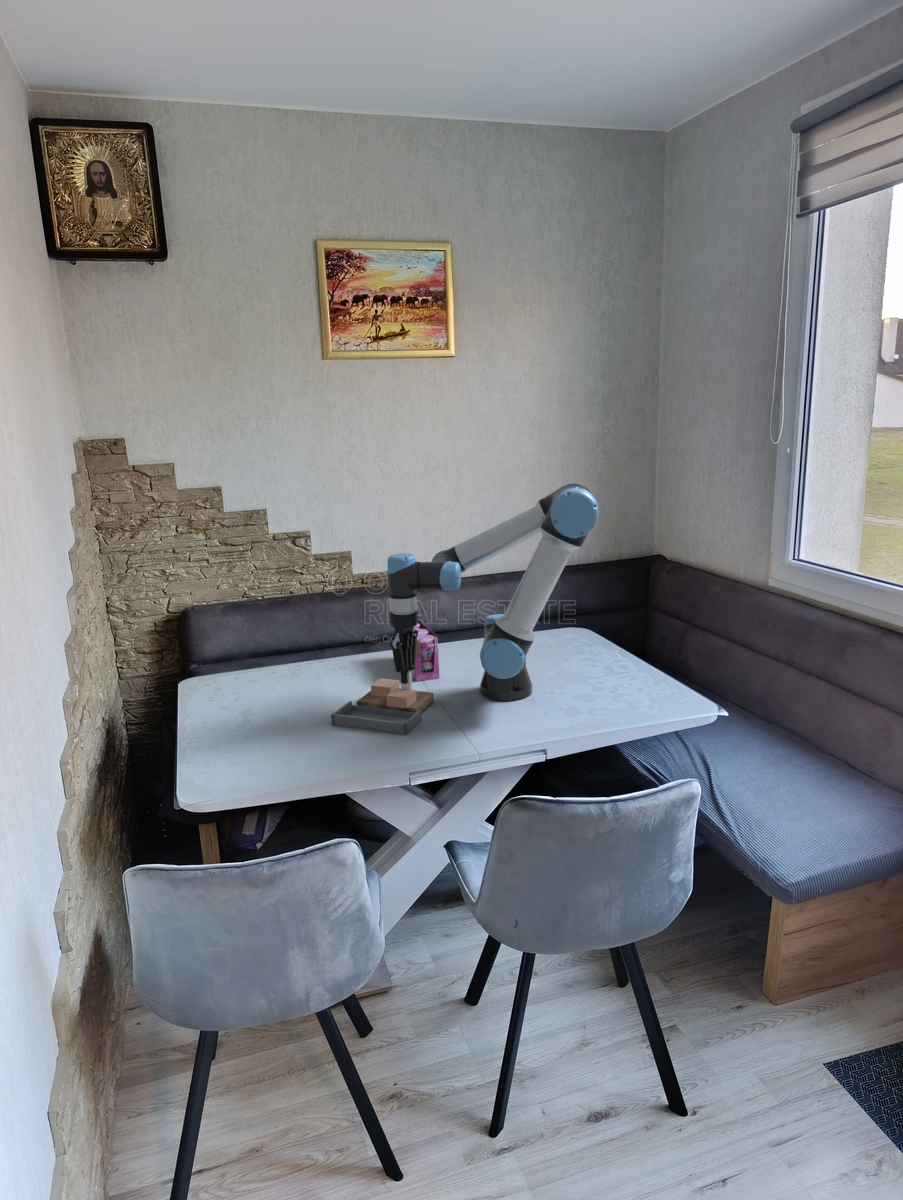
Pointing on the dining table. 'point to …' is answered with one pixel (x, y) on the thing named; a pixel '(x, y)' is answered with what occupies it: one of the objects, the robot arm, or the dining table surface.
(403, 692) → the tile
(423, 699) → the brown wooden board
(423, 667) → the gum box
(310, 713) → the dining table surface
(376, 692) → the tile
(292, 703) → the dining table surface
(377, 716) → the tray
